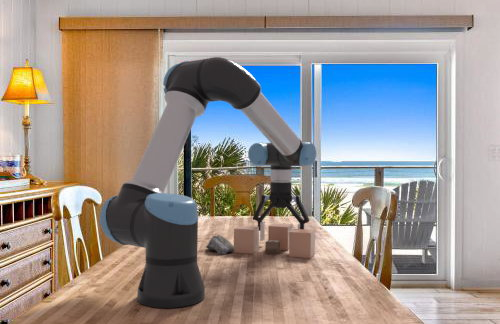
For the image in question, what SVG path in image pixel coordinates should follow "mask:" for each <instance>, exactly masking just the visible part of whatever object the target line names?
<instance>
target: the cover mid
mask: <svg viewBox="0 0 500 324" xmlns="http://www.w3.org/2000/svg"><path fill="white" fill-rule="evenodd" d="M267 226H268V229H267V230H268V231H267V232H268V236H267V237H268V239H267V241H268V240H274V241H280V251H289V232H290V231H292V230H293V229H294V228H293V224H292V223H277V222H275V223H272V224H269V225H267Z"/></svg>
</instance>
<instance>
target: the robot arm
mask: <svg viewBox="0 0 500 324" xmlns="http://www.w3.org/2000/svg"><path fill="white" fill-rule="evenodd" d="M162 85H163V86H164V88H163V93H164V101H165V103H166V105H165V107H164V110H163V111H162V113H161V116H160V119H159V120H158V123H157V125H156V127H155V129H154V131H153V133H152V135H151V138H150V140H149V141H148V144H147V147H146V149H145V151H144V153H143V155H142V157H141V160H140V161H139V164H138V166H137V168H136V169H135V170H136V171H135V173H134V174H133V176H132V179H131V180H128V181H126V182H123V184H122V185H121V188H120V189H119V192H118V194H117V195H113V196H112V197H110V198H108V199H107V200H106V201H105V202H104V203H103V205H102V206H101V209H100V214H99V223H100V226H101V230H102V232H103V234H104V235H105V236H106V238H108V239H109V240H111V241H112V242H115V243H118V244H120V245H123V246H125V245H126V246H135V247H140V248H144V249H145V265H144V269H143V272H142V275H141V278H140V280H139V284H138V287H137V302H138V303H140V304H141V305H143V306H146V307H151V308H157V309H158V308H159V309H172V308H174V309H175V308H183V307H187V306H188V307H189V306H192V305H195V304H198V303H201V302H202V301H203V300H204V299H205V297H206V293H205V292H206V289H205V284H204V281H203V278H202V274H201V271H200V268H199V266H198V237H199V235H198V228H199V215H198V205H197V202H196V201H195V200H194V199H193V198H191V197H190V196H187V195H183V194H176V193H167V192H166V193H165V191H166V189H167V186H168V184H169V181H170V179H171V176H172V174H173V171H174V170H175V168H176V165H177V163H178V161H179V158H180V156H181V153H182V151H183V149H184V146H185V144H186V141H187V139H188V137H189V135H190V132H191V130H192V127H193V125H194V123H195V120H196V118H198V117H201V116H203V115H204V113H205V112H206V109H207V106H208V105H209V103H211V102H218V101H220V102H225V103H228V104H229V105H230V106H232V108H234V109H235V110H239V111H241V112H242V113H243V114H244V115H245V116H246V117H247V119H248V120H249V121H250V122H251V123H252V124H253V125H254V127H256V129H257V130H258V131H259V132H261V134H262V135H263V136H264V137H265V138H266V140H268V142H255V143H253V144H251V145H250V146H249V149H248V150H247V151H248V153H247V156H248V160H249V162H250V163H251V164H252V165H255V166H258V167H259V166H262V167H263V166H270V178H269V179H270V181H271V182H270V184H269V185H270V186H269V187H270V189H269V190H270V192H269V193H270V194H269V195H267V194H266V193H265V194H262V195H261V197H260V198H261V199H260V202H259V204H258V206H257V208H256V211H255V212H254V215H253V216H252V220H253V221H256V222H257V227H259V242H260V241H261V242H262V241H264V240H265V236H266V235H265V233H266V232H265V231H266V230H265V227H266V225H265V221H264V220H265V218H266V217H267V216H268V214H270V213H271V211H272V210H273V208H275V209H278V208H279V209H280V208H281V209H287V210H289V212H290V213H291V214H292V215H293V216H294V218H295V220H297V222H298V224H297V229H305V224H307V223H309V222H310V221H311V219H310V218H309V215H308V213H307V211H306V209H305V207H304V204H303V203H302V198H301V195H294V196H293V193H292V191H293V190H292V187H293V184H292V182H291V181H292V179H293V178H292V177H293V173H292V171H293V169H292V168H293V166H295V167H305V166H306V167H307V166H308V167H309V166H312V165H313V164H314V163H315V161H316V159H317V148H316V146H315V144H314V143H313V142H311V141H310V142H307V141H302V140H301V139H300V137H298V135H297V134H296V132H295V131H294V130H293V129H292V128H291V127H290V126H289V124H288V123H287V122H286V120H285V119H284V118H283V117H282V116H281V114H280V113H279V112H278V111H277V110H276V108H275V107H274V106H273V105H272V103H271V102H270V101H269V100H268V99H267V98H266V97H265V95H264V94H263V93H262V87H261V84H260V83H259V82H258V81H257V80H256V78H255V77H254V76H253V75H252V74H251V73H250V72H249V71H248V70H246V69H245V68H244V67H242V66H241V65H239V64H238V63H236V62H234V61H233V60H230V59H227V58H225V57H222V56H221V57H220V56H215V57H214V56H213V57H207V58H202V59H197V60H190V61H189V60H185V61H182V62H179V63H176V64H174V65H173V66H171V67H170V68H168V70H166V73H165V74H164V78H163V83H162ZM268 201H270V204H269V205H268V206H267V208H266V209H265V210H264V211H263V208H264V207H265V204H266V202H268ZM292 201H294V202H295V204H296V205H297V208H298V211H299V212H300V214H301V215H300V214H299V212H298V211H297V209H295V207H294V206H293V204H292ZM262 211H263V213H262V214H261V212H262Z"/></svg>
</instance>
